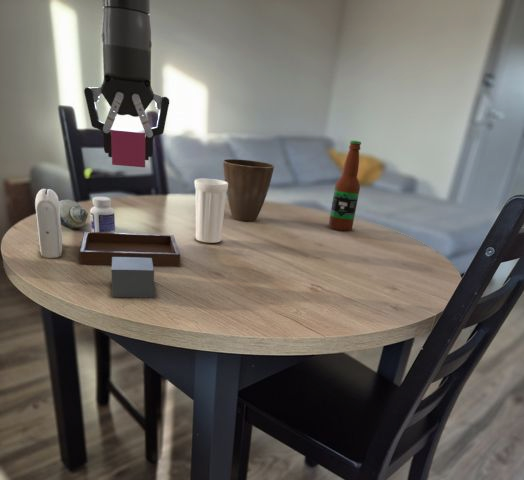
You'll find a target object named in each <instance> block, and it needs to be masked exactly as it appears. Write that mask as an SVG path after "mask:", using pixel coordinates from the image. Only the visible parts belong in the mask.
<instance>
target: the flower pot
mask: <svg viewBox="0 0 524 480" xmlns="http://www.w3.org/2000/svg"><path fill="white" fill-rule="evenodd" d="M222 163H223V164H222V165H223V166H222V167H223V168H222V169H223V179H224V180H223V181H226V182H228V189H227V191H226V199H227V202H228V203H227V204H228V206H229V211H230V214H231V217H232V219H234V220H237V221H241V222H255V221H256V220H257V219H258V217H259V215H260V213H261V210H262V208H263V206H264V203H265V201H266V198H267V194H268V192H269V189H270V185H271V182H272V178H273V173H274V170H275V164H272V163H269V162H262V161H256V160H249V159H239V158H238V159H234V158H228V159H226V158H225V159H223V160H222Z"/></svg>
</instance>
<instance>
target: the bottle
mask: <svg viewBox="0 0 524 480" xmlns="http://www.w3.org/2000/svg"><path fill="white" fill-rule="evenodd" d="M361 145H362V141H360V140H350V141H349V146H348V151H347V155H346V158H345V161H344V164H343V168H342V174H341V176H339V178H338V180H337V181H336V183H335V186H334V191H333V197H332V202H331V209H330V214H329V220H328V226H329V228H330V229H332V230H334V231H339V232H350V231H351V230H352V229H353V225H354V220H355V215H356V210H357V205H358V200H359V195H360V190H361V185H360V182H359V180H358V173H359V166H360V164H359V163H360V150H361Z"/></svg>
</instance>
